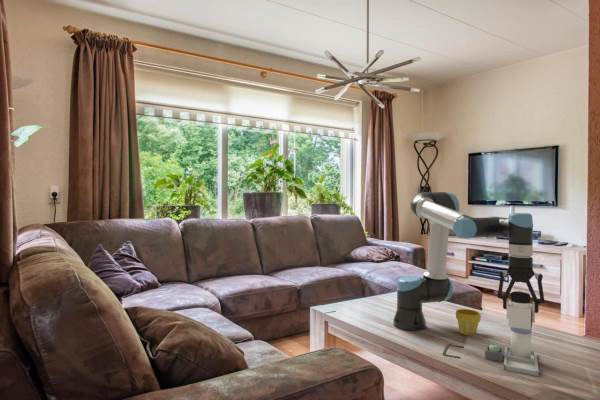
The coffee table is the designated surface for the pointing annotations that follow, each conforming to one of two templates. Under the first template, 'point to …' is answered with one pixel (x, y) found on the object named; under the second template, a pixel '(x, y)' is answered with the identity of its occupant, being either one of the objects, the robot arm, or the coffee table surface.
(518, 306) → the medicine bottle
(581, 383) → the coffee table surface
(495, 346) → the button
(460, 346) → the frame
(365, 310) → the coffee table surface
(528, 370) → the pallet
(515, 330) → the cream and blue canister
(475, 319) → the plant pot
